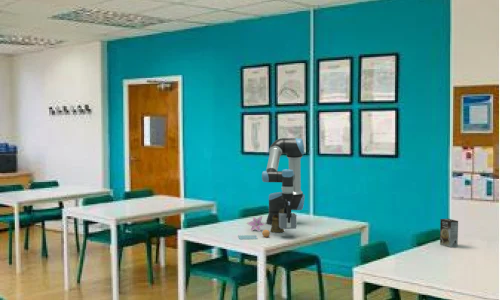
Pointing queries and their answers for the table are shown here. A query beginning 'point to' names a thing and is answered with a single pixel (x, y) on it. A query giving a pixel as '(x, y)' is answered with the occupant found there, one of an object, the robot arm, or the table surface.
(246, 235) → the tape square
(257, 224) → the lily
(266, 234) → the ball
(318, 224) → the table surface
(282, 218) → the matte grey cube
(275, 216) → the wooden mug
